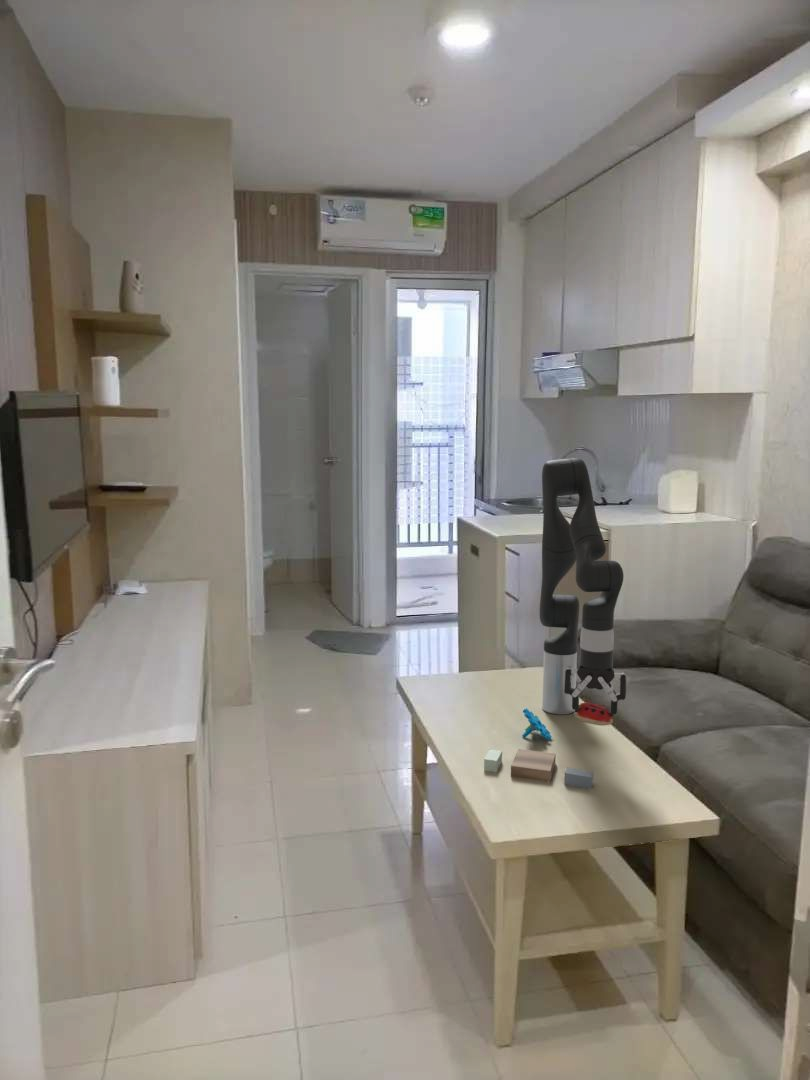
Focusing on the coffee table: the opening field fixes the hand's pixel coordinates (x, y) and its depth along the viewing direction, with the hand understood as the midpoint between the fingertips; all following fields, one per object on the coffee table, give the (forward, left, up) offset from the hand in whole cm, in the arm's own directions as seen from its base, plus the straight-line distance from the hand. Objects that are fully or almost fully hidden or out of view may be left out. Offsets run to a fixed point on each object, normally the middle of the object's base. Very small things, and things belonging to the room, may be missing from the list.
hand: (594, 713), depth 187 cm
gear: (-15, -16, -14) cm, 26 cm away
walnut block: (+5, -13, -14) cm, 20 cm away
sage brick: (+6, -23, -14) cm, 27 cm away
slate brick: (+9, -2, -14) cm, 17 cm away
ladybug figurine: (-1, 0, -2) cm, 3 cm away
